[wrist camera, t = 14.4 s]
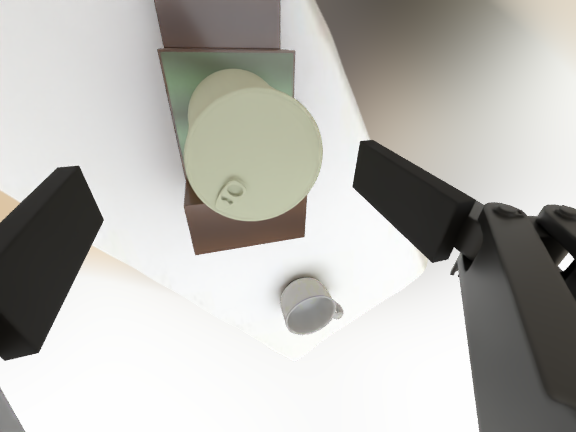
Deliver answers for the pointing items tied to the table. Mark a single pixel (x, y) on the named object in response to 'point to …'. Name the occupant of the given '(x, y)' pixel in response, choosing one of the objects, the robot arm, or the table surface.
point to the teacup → (308, 306)
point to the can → (249, 147)
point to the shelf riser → (205, 61)
